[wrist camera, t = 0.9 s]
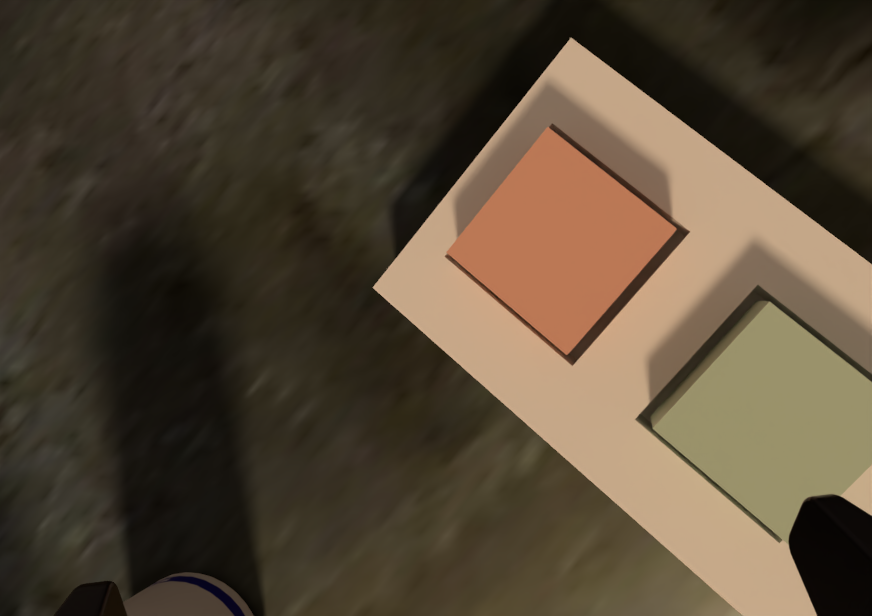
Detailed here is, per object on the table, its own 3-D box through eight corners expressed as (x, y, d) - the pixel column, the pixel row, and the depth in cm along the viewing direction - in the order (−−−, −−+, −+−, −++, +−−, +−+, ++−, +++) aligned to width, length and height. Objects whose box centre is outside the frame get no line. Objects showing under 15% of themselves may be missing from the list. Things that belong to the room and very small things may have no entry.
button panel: (1207, 544, 19) (1290, 580, 17) (947, 771, 21) (989, 834, 18) (577, 64, 23) (570, 37, 21) (398, 287, 25) (372, 287, 22)
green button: (889, 405, 19) (917, 418, 17) (774, 521, 20) (790, 546, 18) (755, 300, 20) (769, 301, 18) (650, 415, 21) (652, 428, 19)
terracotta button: (672, 234, 20) (677, 228, 19) (572, 349, 21) (566, 355, 19) (555, 141, 21) (547, 126, 19) (462, 256, 22) (446, 252, 20)
